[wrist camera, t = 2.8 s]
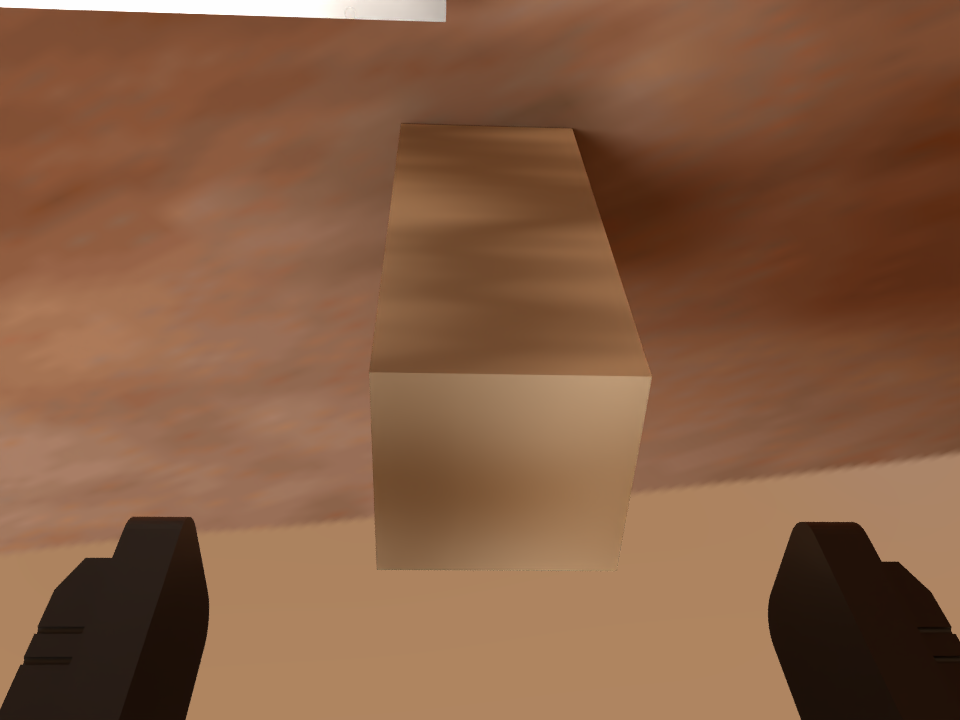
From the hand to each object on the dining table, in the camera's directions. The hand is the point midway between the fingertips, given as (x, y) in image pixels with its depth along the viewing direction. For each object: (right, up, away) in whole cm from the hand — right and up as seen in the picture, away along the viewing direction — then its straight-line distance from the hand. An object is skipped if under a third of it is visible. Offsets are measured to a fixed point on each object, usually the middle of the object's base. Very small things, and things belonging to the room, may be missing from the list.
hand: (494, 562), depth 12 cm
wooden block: (0, +7, +10) cm, 12 cm away
